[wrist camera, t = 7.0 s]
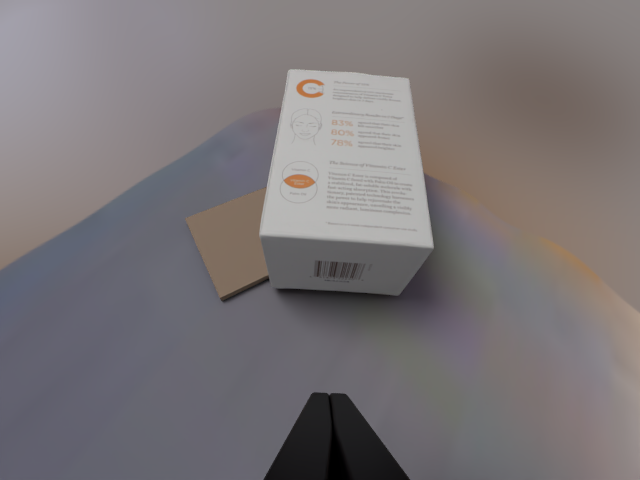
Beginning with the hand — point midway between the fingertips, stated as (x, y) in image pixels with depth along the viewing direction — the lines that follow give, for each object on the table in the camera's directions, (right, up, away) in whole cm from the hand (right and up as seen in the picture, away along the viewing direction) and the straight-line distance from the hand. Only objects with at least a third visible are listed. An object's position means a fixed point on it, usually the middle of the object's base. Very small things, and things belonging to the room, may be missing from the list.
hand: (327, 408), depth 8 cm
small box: (+1, +2, +9) cm, 9 cm away
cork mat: (-2, +5, +15) cm, 16 cm away
